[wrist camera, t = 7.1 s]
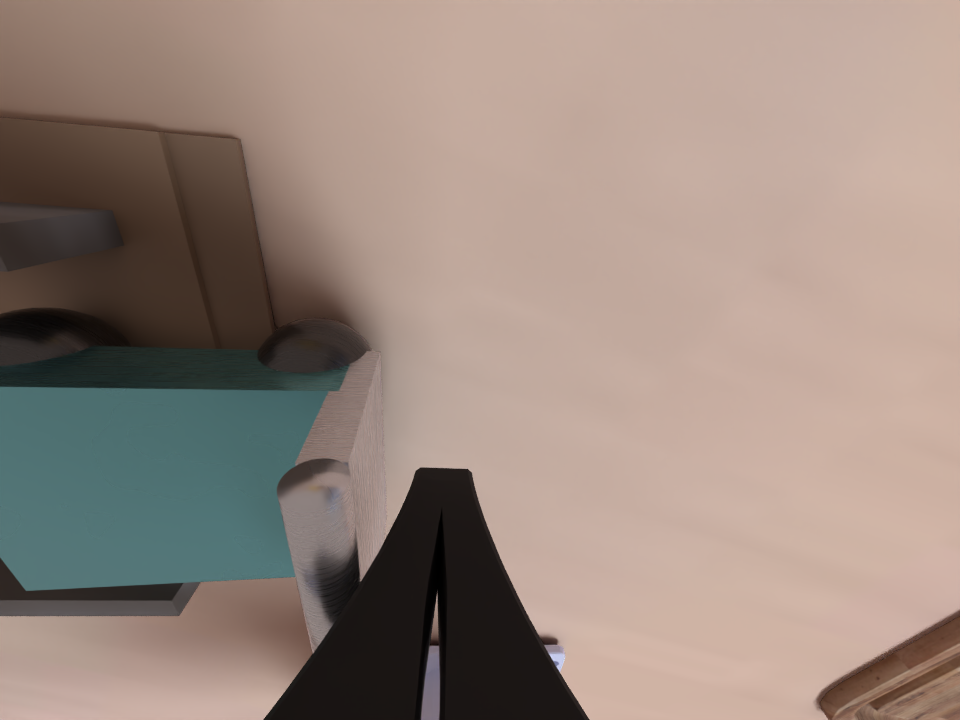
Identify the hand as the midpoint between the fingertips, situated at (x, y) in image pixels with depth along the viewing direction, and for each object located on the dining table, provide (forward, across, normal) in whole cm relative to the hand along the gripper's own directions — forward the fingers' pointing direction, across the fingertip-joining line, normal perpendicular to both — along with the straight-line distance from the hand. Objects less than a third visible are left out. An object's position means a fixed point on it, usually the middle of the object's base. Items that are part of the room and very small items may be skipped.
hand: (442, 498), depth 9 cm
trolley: (+3, +6, 0) cm, 7 cm away
